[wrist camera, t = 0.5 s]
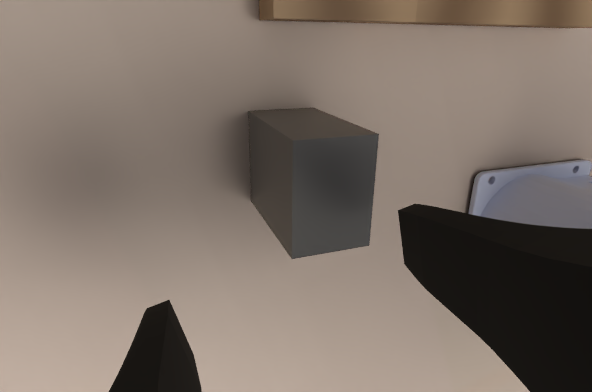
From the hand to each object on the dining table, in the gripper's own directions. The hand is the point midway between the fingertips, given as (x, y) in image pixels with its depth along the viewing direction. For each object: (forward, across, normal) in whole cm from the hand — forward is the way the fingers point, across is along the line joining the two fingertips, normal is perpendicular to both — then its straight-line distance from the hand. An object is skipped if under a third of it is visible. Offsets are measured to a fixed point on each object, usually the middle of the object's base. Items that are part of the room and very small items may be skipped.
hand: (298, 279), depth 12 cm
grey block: (+9, -2, -1) cm, 9 cm away
